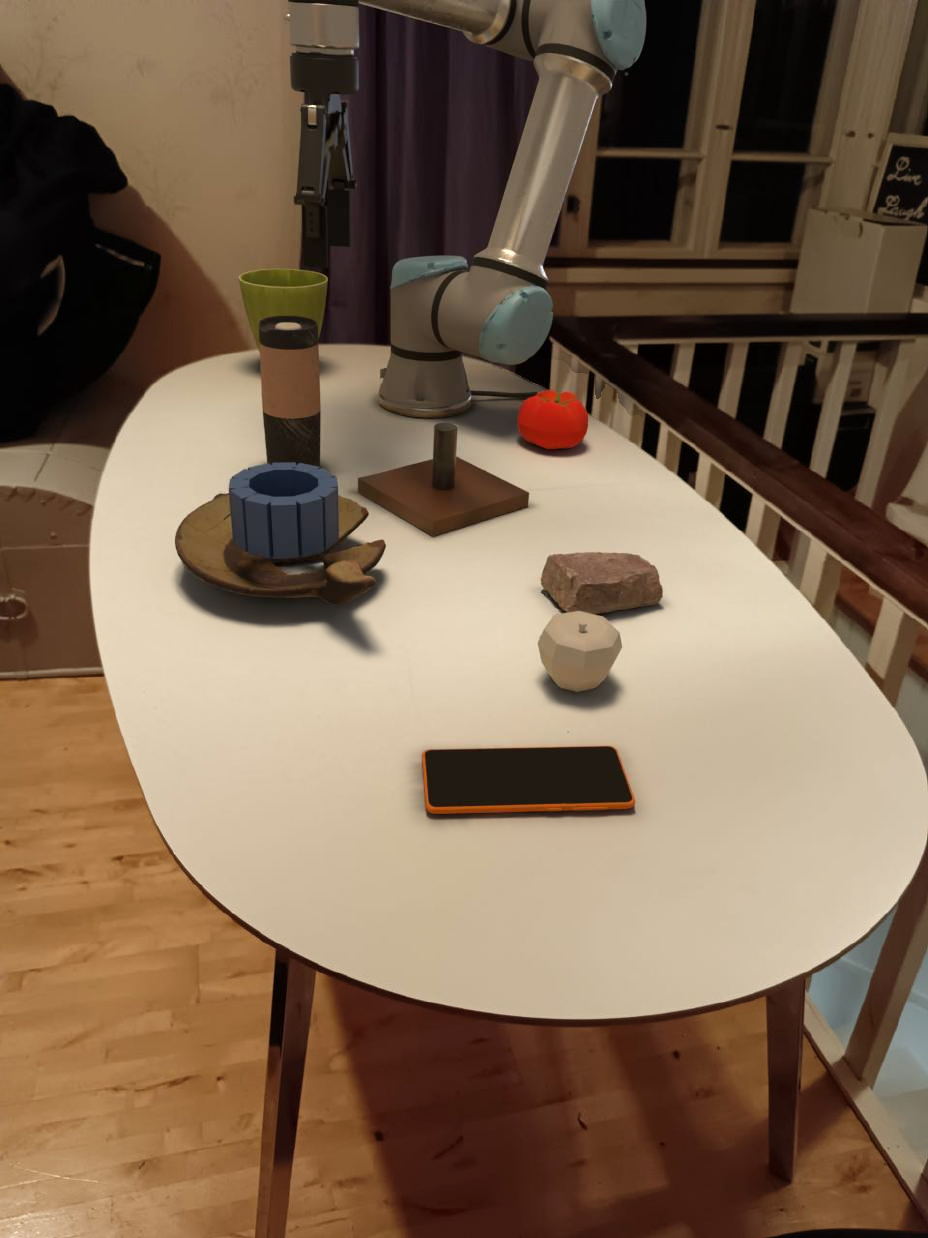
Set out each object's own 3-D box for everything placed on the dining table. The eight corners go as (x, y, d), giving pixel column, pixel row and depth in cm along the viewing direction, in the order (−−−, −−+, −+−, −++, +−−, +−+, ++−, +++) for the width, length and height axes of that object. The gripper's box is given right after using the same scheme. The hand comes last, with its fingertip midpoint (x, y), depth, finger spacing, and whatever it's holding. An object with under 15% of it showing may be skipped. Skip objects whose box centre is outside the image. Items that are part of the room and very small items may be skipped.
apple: (570, 649, 96) (577, 592, 92) (633, 683, 91) (643, 625, 88) (516, 678, 91) (522, 619, 88) (580, 716, 86) (588, 656, 83)
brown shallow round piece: (361, 517, 120) (361, 459, 116) (416, 644, 95) (418, 576, 91) (176, 530, 114) (169, 470, 110) (184, 668, 89) (175, 597, 85)
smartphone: (421, 755, 80) (421, 747, 80) (614, 752, 82) (616, 744, 82) (426, 817, 74) (426, 809, 73) (636, 812, 76) (638, 804, 75)
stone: (625, 570, 111) (631, 533, 109) (667, 609, 104) (675, 571, 102) (534, 583, 107) (538, 546, 104) (571, 625, 100) (577, 586, 97)
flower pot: (227, 368, 169) (220, 274, 161) (291, 353, 179) (287, 264, 171) (283, 388, 161) (278, 291, 153) (347, 371, 171) (346, 279, 163)
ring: (304, 505, 108) (302, 455, 105) (358, 541, 101) (358, 489, 98) (215, 528, 102) (210, 475, 99) (265, 568, 95) (262, 513, 92)
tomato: (550, 462, 139) (555, 412, 135) (501, 438, 146) (505, 391, 142) (601, 448, 145) (608, 400, 141) (552, 426, 152) (557, 380, 148)
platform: (451, 467, 135) (454, 398, 130) (528, 506, 125) (535, 433, 120) (357, 492, 126) (357, 419, 121) (432, 536, 116) (435, 459, 111)
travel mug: (327, 461, 135) (324, 317, 124) (314, 482, 128) (310, 332, 118) (274, 457, 135) (267, 312, 125) (259, 477, 129) (249, 327, 118)
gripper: (315, 49, 115) (319, 236, 126) (259, 49, 94) (270, 274, 105) (377, 53, 115) (376, 240, 126) (335, 54, 94) (338, 279, 104)
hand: (328, 256), depth 115 cm, fingers open, 13 cm apart
